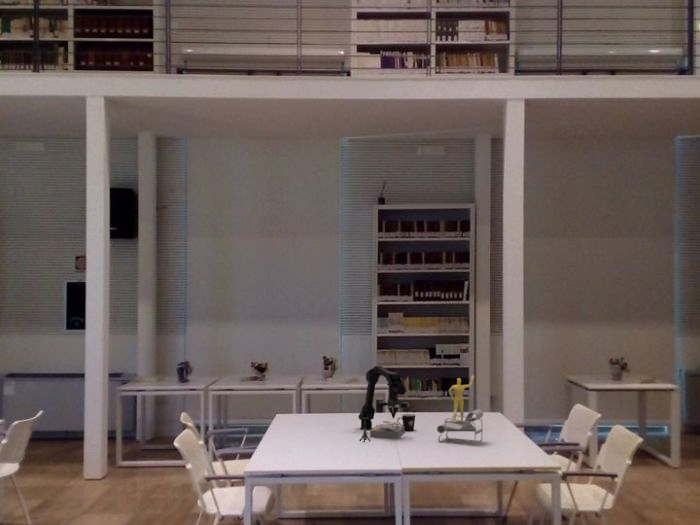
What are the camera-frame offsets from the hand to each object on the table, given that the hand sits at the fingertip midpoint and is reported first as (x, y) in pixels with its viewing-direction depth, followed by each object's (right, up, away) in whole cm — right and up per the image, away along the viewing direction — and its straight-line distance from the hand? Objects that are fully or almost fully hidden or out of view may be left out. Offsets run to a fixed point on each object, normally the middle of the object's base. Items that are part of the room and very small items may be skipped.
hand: (393, 418), depth 501 cm
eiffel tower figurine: (-18, -12, -12) cm, 25 cm away
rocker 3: (-2, -6, +8) cm, 10 cm away
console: (-3, -12, +8) cm, 15 cm away
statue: (+45, -13, +30) cm, 56 cm away
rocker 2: (-1, -6, +14) cm, 16 cm away
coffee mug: (+10, -13, +23) cm, 28 cm away
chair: (+40, -12, -15) cm, 44 cm away
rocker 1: (-4, -5, +1) cm, 7 cm away
